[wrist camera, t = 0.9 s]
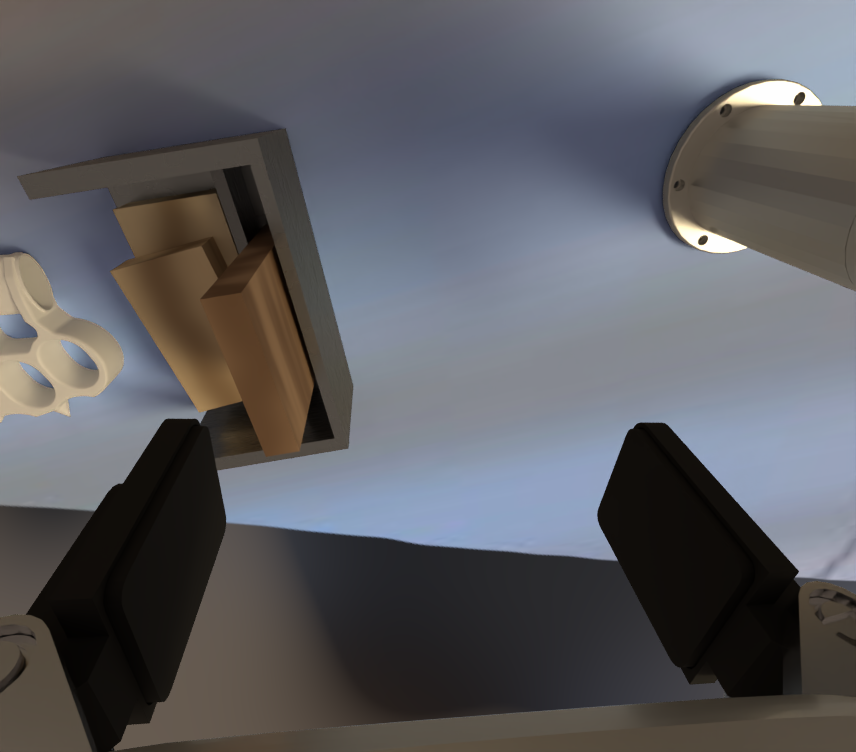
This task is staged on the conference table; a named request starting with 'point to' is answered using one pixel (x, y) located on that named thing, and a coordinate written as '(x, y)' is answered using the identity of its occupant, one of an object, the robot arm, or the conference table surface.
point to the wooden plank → (263, 344)
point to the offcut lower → (176, 223)
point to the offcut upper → (182, 316)
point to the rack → (246, 214)
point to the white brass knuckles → (47, 345)
